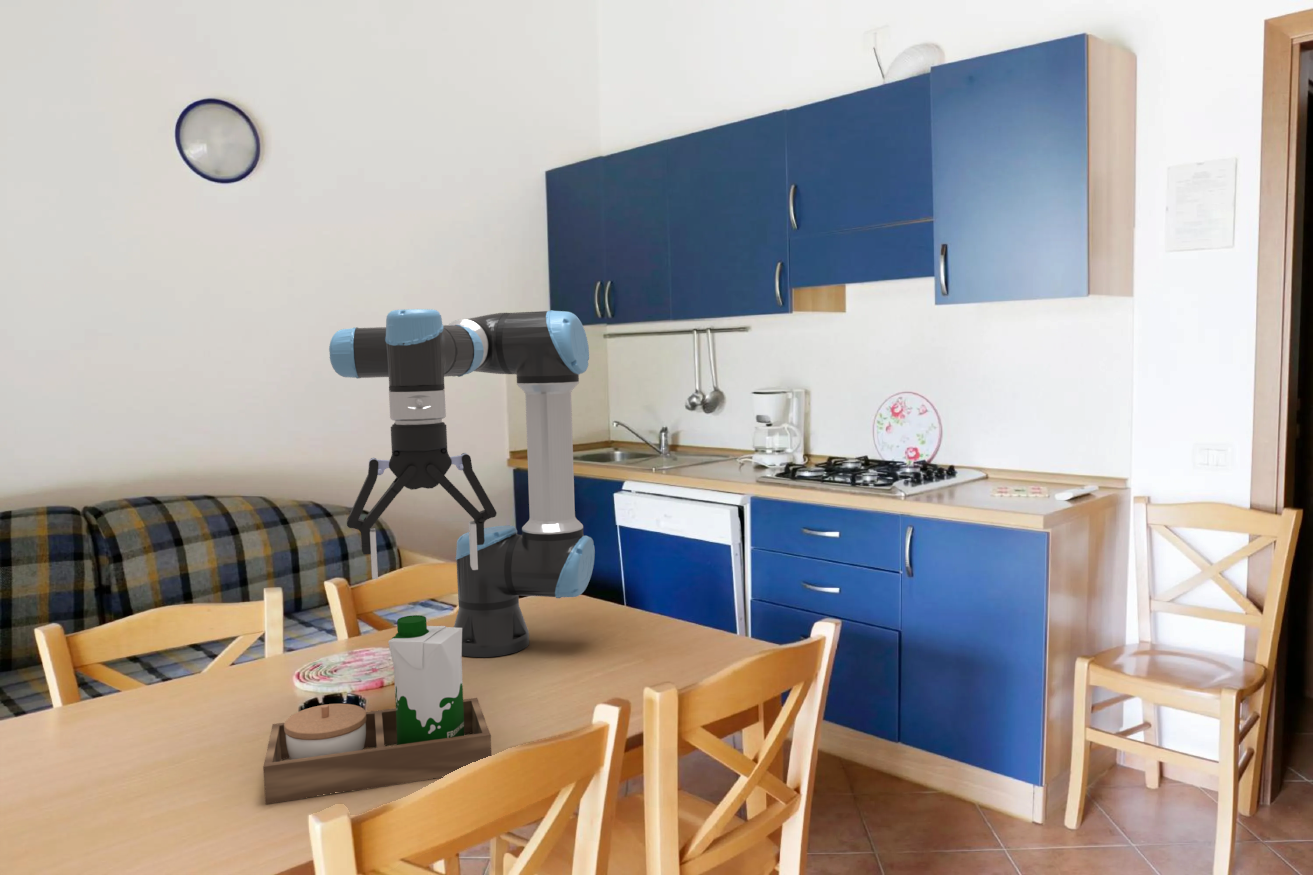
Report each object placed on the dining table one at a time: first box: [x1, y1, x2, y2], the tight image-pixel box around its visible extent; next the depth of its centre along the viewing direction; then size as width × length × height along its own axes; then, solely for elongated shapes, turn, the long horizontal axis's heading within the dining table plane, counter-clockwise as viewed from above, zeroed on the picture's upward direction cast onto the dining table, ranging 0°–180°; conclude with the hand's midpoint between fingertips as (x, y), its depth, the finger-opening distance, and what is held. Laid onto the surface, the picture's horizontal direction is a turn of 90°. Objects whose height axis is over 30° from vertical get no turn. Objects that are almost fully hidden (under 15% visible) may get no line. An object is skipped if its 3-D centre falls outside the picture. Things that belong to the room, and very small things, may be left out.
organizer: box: [262, 697, 492, 805], centre depth 134 cm, size 15×29×5 cm, turn 108°
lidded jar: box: [283, 703, 367, 760], centre depth 132 cm, size 11×11×9 cm
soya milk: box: [388, 614, 465, 745], centre depth 135 cm, size 9×9×20 cm
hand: (425, 572), depth 134 cm, fingers open, 13 cm apart
